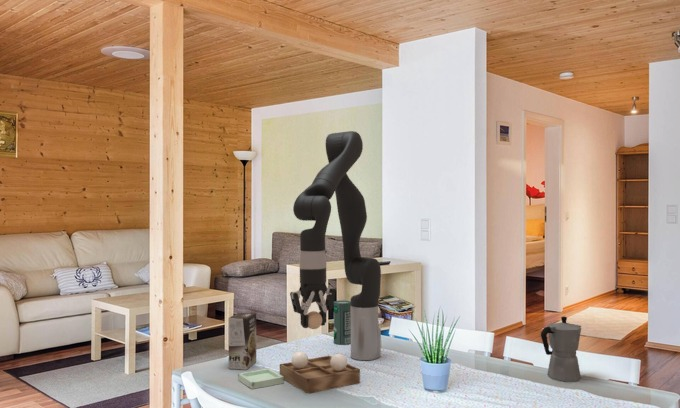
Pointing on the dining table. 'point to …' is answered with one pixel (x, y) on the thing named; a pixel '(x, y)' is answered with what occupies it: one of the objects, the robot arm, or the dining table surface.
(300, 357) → the white egg
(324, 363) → the egg tray
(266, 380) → the dish
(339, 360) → the white egg
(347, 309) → the can
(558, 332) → the coffeepot
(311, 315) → the brown egg
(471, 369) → the dining table surface
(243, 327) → the coffee box
